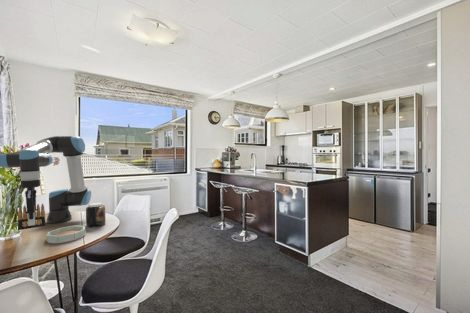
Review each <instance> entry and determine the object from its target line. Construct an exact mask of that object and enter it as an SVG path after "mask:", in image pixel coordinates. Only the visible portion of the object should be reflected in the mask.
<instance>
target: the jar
mask: <svg viewBox="0 0 470 313" xmlns="http://www.w3.org/2000/svg"><path fill="white" fill-rule="evenodd" d="M105 206H106V205H103V202H92V203H88V206H87V207H86V208H85V228H86V227H87V228H97V227H98V226H99V227H102V226H105V225H106V224H107V223H106V222H107V221H106V207H105Z"/></svg>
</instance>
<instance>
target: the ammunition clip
mask: <svg viewBox="0 0 470 313" xmlns="http://www.w3.org/2000/svg"><path fill="white" fill-rule="evenodd" d="M36 209H37V211H35V206H34V211H35V225H31V226H28V213H27V214H26V212H27V206H26V205H24V206H23V209H22V206H21V205H20V206H18V213H17V219H18V220H17V230H18V231H22V230H28V229H34V228H40V227H41V228H43V227H46V225H47V221H46V211H45V205H44V203H41V207H40V204H39V203H38V204H36Z"/></svg>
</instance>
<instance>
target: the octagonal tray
mask: <svg viewBox="0 0 470 313" xmlns="http://www.w3.org/2000/svg"><path fill="white" fill-rule="evenodd" d="M86 234H87V230H86V225H77V224H75V225H69V226H63V227H58V228H55V229H53V230H51V231H48V232H47V233H46V242H47V243H48V244H64V243H69V242H72V241H76V240H79V239H82V238H83V237H85V236H86Z"/></svg>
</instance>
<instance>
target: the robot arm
mask: <svg viewBox="0 0 470 313" xmlns="http://www.w3.org/2000/svg"><path fill="white" fill-rule="evenodd" d="M42 143H43V144H42ZM85 150H86V143H85V141H84V139H83V138H82V137H81V136H76V135H75V136H74V135H67V136H66V135H65V136H63V135H55V136H50V137H46V138H43V139H41V140H38V141H37V142H36V143H35V144H33V145H29V146H27V147H25V148H23V149H20V150H17V151H15V152H11V153H8V152H7V153H1V154H0V167H1V168H8V169H10V168H19V169H20V170H19V171H20V173H18V176H19V177H20V180H21V181H20V188H21V189H26V190H25V191H24V195H25V204H26V205H25V206H26V214H27V213H28V221H27V224H28V226H31V225H35V211H36V212H37V189H35V188H38V187H40V186H41V179H40V178H41V170H40V168H41V167H44V168H45V167H47V166H48V167H49V166H50V165H51V164H52V163H53V157H52V155H50V154H51V153H52V154H55V153H60V154H61V153H62V156H63V157H65V158H66V164H67V170H68V177H69V178H68V179H69V182H70V183H69V184H70V188H64V189H63V188H62V189H57V190H54V191H51V192H49V193H48V209H49V210H48V211H49V212H48V215H47V217H46V219H45V221H46V224H60V223H64V222H68V221H70V220H72V217H73V216H72V213H71V210H70V207H80V206H81V207H82V206H86V205H89V204H90V201H91V199H92V191H91V189H89V188H88V186H86V184H85V179H84V172H83V165H82V164H83V163H82V156H83V153H84V152H85ZM46 152H48V154H47V153H46ZM34 206H35V211H34Z"/></svg>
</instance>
